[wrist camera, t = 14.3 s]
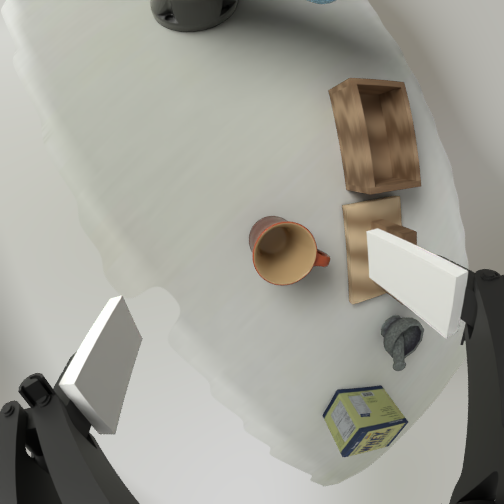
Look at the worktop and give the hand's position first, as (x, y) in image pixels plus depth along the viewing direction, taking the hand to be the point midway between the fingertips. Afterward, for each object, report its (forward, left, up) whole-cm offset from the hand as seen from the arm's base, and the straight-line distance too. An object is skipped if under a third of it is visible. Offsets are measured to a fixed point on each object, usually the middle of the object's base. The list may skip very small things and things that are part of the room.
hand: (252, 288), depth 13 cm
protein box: (+56, +22, -32) cm, 68 cm away
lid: (+13, +26, -31) cm, 42 cm away
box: (-8, +27, -31) cm, 42 cm away
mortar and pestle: (+34, +31, -31) cm, 56 cm away
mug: (+7, +8, -31) cm, 33 cm away
